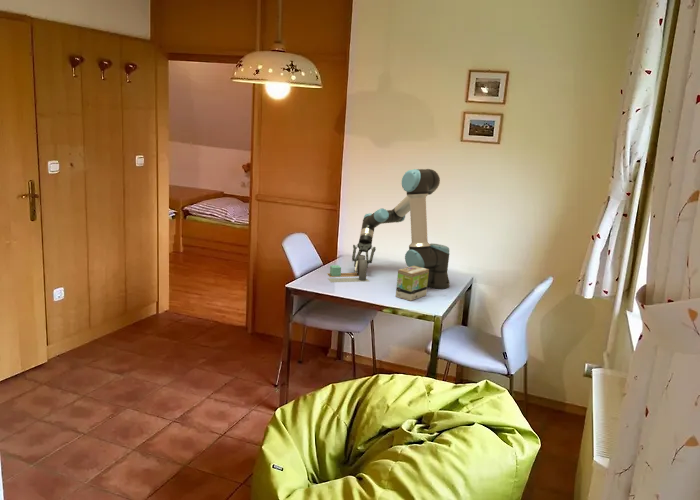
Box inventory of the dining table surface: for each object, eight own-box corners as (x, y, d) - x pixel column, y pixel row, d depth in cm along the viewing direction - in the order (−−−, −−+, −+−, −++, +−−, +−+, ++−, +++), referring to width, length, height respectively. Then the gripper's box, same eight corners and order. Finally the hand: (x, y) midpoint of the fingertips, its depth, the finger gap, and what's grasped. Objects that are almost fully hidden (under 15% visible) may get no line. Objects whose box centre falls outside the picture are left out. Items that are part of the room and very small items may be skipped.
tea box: (411, 301, 313) (413, 273, 310) (395, 296, 319) (397, 269, 316) (427, 295, 325) (429, 268, 321) (411, 291, 331) (413, 264, 327)
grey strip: (369, 283, 340) (370, 262, 337) (330, 284, 334) (331, 262, 331) (365, 279, 347) (366, 258, 344) (327, 280, 340) (328, 259, 338)
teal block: (340, 276, 346) (341, 267, 345) (332, 276, 345) (332, 267, 344) (338, 273, 351) (338, 265, 350) (329, 273, 349) (330, 265, 348)
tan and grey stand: (367, 277, 350) (368, 257, 347) (329, 278, 344) (330, 257, 341) (363, 274, 357) (364, 254, 354) (326, 275, 350) (327, 254, 348)
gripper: (380, 242, 362) (374, 276, 350) (352, 239, 364) (345, 273, 352) (380, 235, 355) (374, 270, 343) (351, 232, 358) (344, 267, 346)
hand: (359, 271), depth 348 cm, fingers closed on tan and grey stand, 4 cm apart
